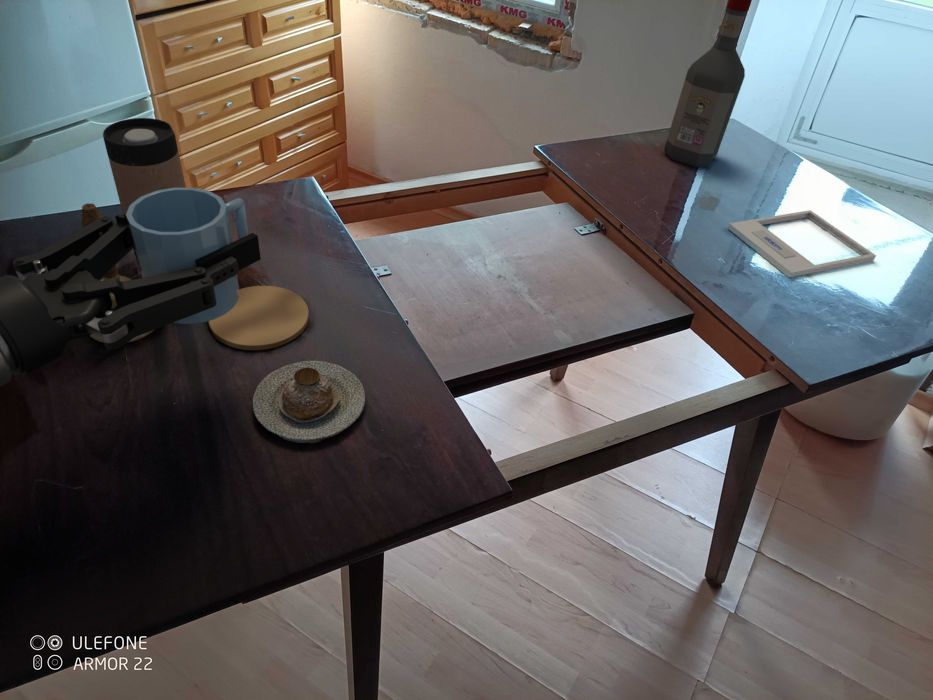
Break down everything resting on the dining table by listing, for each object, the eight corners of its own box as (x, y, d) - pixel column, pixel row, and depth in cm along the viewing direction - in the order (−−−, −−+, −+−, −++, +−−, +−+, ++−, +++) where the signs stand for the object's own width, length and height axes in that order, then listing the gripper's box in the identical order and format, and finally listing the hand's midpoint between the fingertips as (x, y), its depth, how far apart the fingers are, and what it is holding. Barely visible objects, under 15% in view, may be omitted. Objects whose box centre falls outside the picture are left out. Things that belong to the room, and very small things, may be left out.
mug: (186, 335, 64) (166, 245, 58) (132, 298, 68) (106, 209, 61) (279, 284, 72) (270, 198, 65) (226, 252, 75) (212, 168, 68)
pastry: (232, 399, 75) (226, 368, 72) (323, 354, 82) (321, 324, 79) (295, 465, 69) (291, 434, 66) (387, 410, 76) (388, 380, 73)
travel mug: (128, 285, 88) (85, 136, 75) (164, 255, 94) (131, 112, 81) (180, 299, 87) (146, 151, 74) (214, 268, 92) (188, 125, 79)
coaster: (187, 328, 83) (186, 323, 82) (252, 279, 91) (251, 275, 91) (268, 363, 80) (267, 358, 79) (327, 309, 88) (327, 304, 88)
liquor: (705, 171, 130) (765, -1, 110) (659, 156, 133) (710, -13, 113) (718, 155, 136) (777, -10, 116) (674, 141, 139) (724, -22, 119)
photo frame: (729, 222, 113) (810, 209, 119) (727, 228, 114) (808, 214, 120) (792, 271, 103) (876, 254, 109) (789, 277, 104) (873, 260, 110)
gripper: (-61, 317, 60) (165, 221, 74) (80, 437, 52) (303, 303, 66) (-99, 244, 55) (150, 157, 70) (50, 364, 47) (298, 236, 61)
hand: (225, 228), depth 68 cm, fingers closed on mug, 8 cm apart
